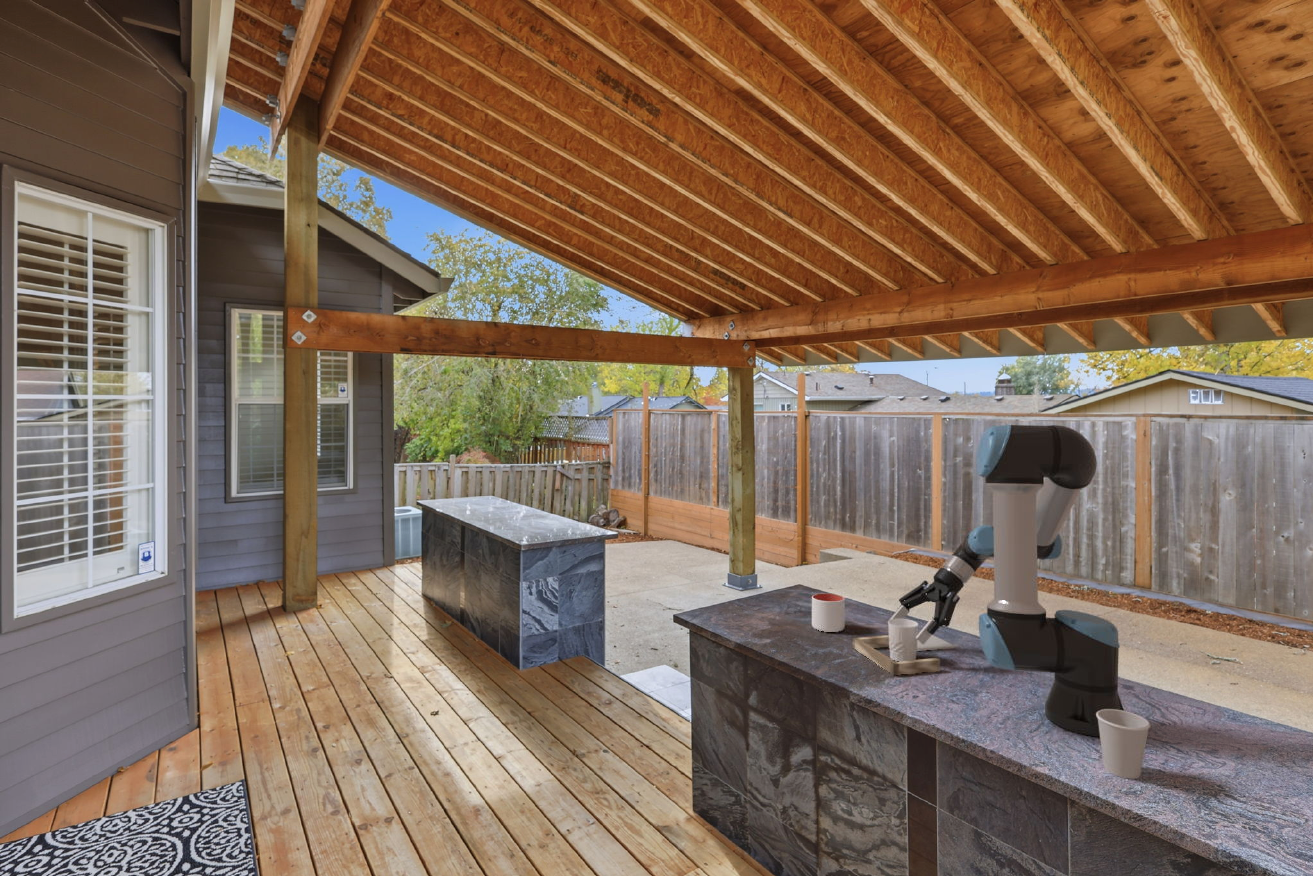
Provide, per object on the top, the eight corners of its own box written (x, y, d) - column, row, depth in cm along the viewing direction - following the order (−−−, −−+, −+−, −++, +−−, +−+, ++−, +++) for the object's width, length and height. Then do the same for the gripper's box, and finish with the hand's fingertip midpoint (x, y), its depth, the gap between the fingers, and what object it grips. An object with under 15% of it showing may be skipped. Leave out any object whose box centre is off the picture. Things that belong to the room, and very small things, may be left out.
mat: (955, 648, 194) (955, 646, 194) (918, 651, 191) (918, 649, 191) (929, 635, 206) (929, 633, 206) (894, 638, 203) (894, 636, 203)
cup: (805, 626, 215) (805, 595, 214) (830, 622, 219) (830, 591, 219) (825, 635, 206) (825, 603, 205) (851, 631, 210) (851, 599, 210)
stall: (894, 644, 197) (894, 634, 197) (939, 671, 177) (939, 659, 177) (852, 648, 194) (852, 638, 194) (893, 675, 174) (893, 664, 174)
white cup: (913, 654, 190) (913, 618, 189) (921, 664, 182) (922, 627, 181) (884, 653, 190) (885, 618, 190) (891, 663, 182) (891, 626, 182)
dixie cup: (1127, 759, 131) (1128, 708, 131) (1160, 782, 123) (1161, 728, 123) (1085, 759, 131) (1086, 709, 131) (1115, 783, 123) (1116, 728, 122)
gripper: (992, 596, 178) (941, 657, 175) (933, 574, 203) (888, 627, 200) (974, 577, 177) (923, 638, 174) (918, 557, 201) (872, 611, 198)
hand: (904, 633), depth 187 cm, fingers open, 13 cm apart
